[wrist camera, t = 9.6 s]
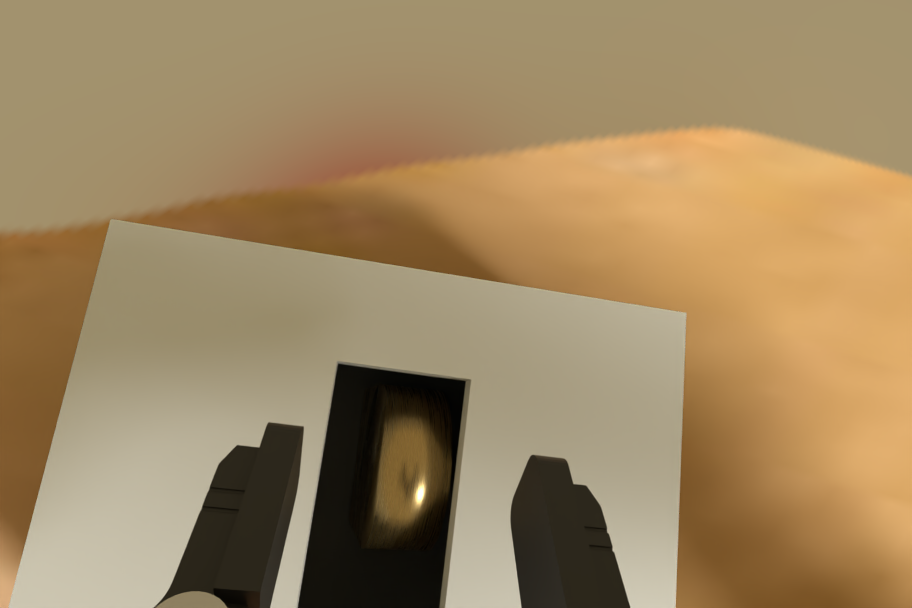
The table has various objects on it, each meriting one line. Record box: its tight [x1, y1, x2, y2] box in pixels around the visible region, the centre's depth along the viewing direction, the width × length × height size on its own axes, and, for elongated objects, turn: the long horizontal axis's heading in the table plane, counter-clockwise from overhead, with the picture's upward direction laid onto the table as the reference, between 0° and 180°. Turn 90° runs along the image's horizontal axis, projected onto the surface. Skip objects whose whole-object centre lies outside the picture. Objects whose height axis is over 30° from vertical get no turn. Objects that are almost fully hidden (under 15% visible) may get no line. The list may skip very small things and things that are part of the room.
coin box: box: [8, 219, 686, 608], centre depth 23 cm, size 20×16×10 cm
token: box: [349, 384, 452, 551], centre depth 23 cm, size 2×6×8 cm, turn 174°
